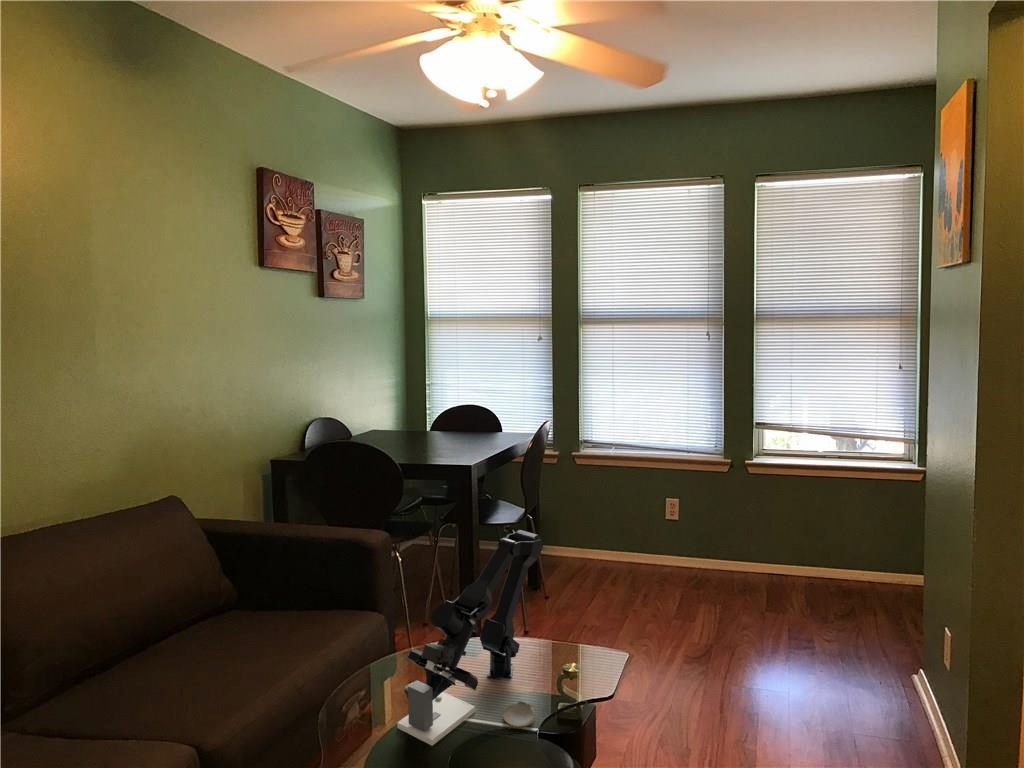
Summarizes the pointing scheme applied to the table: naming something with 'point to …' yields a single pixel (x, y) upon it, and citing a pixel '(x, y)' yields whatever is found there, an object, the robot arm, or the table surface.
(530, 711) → the seashell
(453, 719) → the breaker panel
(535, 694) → the table surface
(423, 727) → the handle
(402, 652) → the table surface
